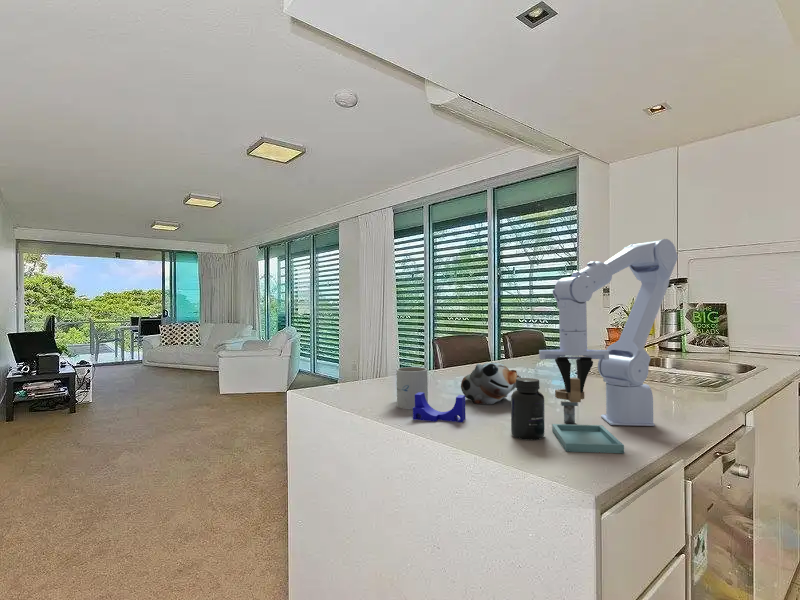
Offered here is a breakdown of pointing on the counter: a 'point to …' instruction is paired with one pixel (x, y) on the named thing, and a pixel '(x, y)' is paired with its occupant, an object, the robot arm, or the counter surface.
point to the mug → (411, 385)
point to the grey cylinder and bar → (569, 411)
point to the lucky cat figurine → (489, 383)
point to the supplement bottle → (527, 410)
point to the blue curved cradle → (429, 414)
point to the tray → (587, 438)
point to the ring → (574, 394)
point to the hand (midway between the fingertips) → (574, 391)
